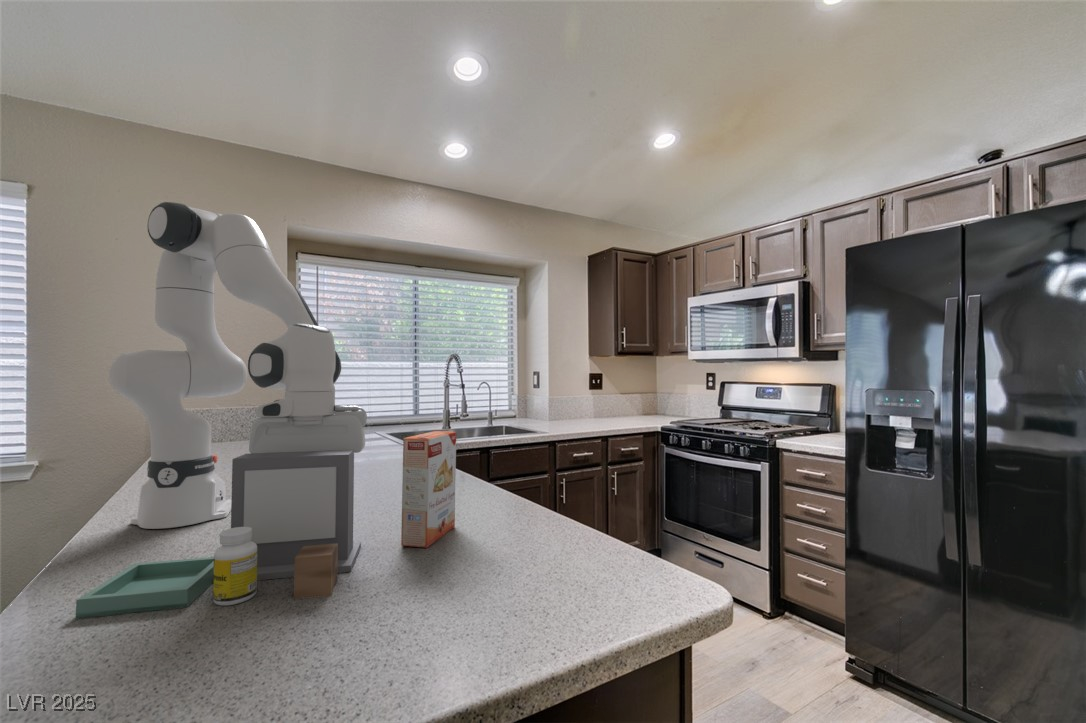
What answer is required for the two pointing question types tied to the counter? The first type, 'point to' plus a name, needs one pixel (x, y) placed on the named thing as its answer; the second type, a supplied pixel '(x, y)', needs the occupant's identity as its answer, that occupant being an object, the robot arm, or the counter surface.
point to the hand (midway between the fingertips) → (309, 477)
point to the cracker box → (428, 487)
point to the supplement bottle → (235, 567)
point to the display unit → (295, 506)
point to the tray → (149, 588)
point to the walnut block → (315, 571)
